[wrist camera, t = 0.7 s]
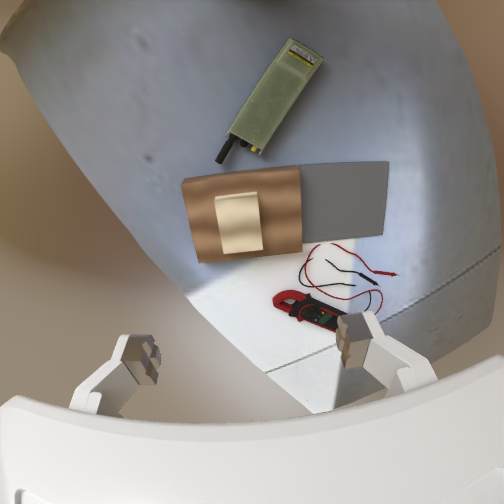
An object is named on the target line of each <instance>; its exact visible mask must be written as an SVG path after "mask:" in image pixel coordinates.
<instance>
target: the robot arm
mask: <svg viewBox="0 0 504 504" xmlns="http://www.w3.org/2000/svg"><path fill="white" fill-rule="evenodd" d="M337 323H338V326H339V327H338V328H337V329H336V343H337V347H338V350H339V351H341V352H342V355H341V359H342V362H343V366H344V369H350V368H355V367H360V366H363V367H364V368H365V369H366V370H367V371H368V372H369V373H371V374H372V375H373V376H374V377H375V378H376V379H377V380H379V381H380V382H381V383H382V384H383V385H384V386H385V387H387V388H388V391H387V393H386V395H385V397H384V399H380V400H376V401H373V402H369V403H365V404H361V405H357V406H352V407H348V408H343V409H338V410H333V411H328V412H323V413H317V414H312V415H305V416H298V417H291V418H284V419H274V420H264V421H251V422H235V423H171V422H156V421H144V420H134V419H125V418H123V416H122V415H120V413H119V411H120V409H121V408H122V407H123V406H124V404H125V403H126V402H127V401H128V400H129V398H130V397H131V396H132V395H133V393H134V392H135V391H136V390H137V389H138V388H139V385H156V382H157V378H158V372H157V371H156V370H157V369H158V368H159V367H160V364H161V353H160V350H159V348H158V346H156V345H155V344H154V341H155V340H154V338H153V336H152V335H121V336H120V337H119V339H118V342H117V344H116V347H115V350H114V352H113V355H112V358H111V360H110V361H107V362H106V363H105V364H103V365H102V366H101V367H100V368H99V369H98V370H97V371H95V372H94V373H93V374H92V375H91V376H90V377H88V378H87V379H86V380H85V381H84V382H83V383H82V384H80V385H79V386H78V387H77V388H76V390H75V392H74V395H73V398H72V401H71V403H70V406H69V409H68V408H64V407H60V406H56V405H52V404H48V403H44V402H41V401H37V400H34V399H31V398H28V397H24V396H21V395H17V396H14V397H13V398H11V399H10V400H8V401H7V402H6V403H5V404H3V405H2V406H1V407H0V504H504V356H501V355H493V356H491V357H489V358H487V359H485V360H483V361H481V362H479V363H477V364H475V365H473V366H471V367H468V368H466V369H464V370H462V371H459V372H457V373H455V374H452V375H450V376H448V377H445V378H443V379H440V380H438V379H437V377H436V375H435V373H434V371H433V369H432V367H431V365H430V363H429V361H428V359H426V358H425V357H423V356H421V355H420V354H418V353H416V352H415V351H413V350H411V349H410V348H408V347H407V346H405V345H403V344H402V343H400V342H398V341H397V340H395V339H394V338H392V337H390V336H389V335H387V336H385V334H384V332H383V330H382V328H381V326H380V324H379V322H378V320H377V318H376V317H375V315H374V313H373V311H372V310H368V311H363V312H358V313H352V314H347V315H341V316H339V317H338V320H337Z"/></svg>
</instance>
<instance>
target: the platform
mask: <svg viewBox="0 0 504 504" xmlns="http://www.w3.org/2000/svg"><path fill="white" fill-rule="evenodd" d="M181 188H182V193H183V197H184V202H185V207H186V211H187V216H188V220H189V224H190V229H191V233H192V237H193V241H194V246H195V250H196V254H197V258H198V262H199V263H207V262H216V261H225V260H234V259H244V258H253V257H262V256H271V255H279V254H288V253H297V252H302V212H301V186H300V170H299V169H298V167H297V166H296V165H294V166H282V167H271V168H261V169H252V170H243V171H235V172H227V173H220V174H213V175H206V176H199V177H193V178H186V179H184V181H183V182H182V184H181ZM249 192H257V197H258V206H259V216H260V225H261V235H262V245H263V250H256V251H247V252H238V253H229V254H224V253H223V247H222V242H221V237H220V231H219V226H218V220H217V215H216V209H215V203H214V201H215V197H216V196H224V195H232V194H240V193H249Z"/></svg>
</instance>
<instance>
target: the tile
mask: <svg viewBox="0 0 504 504" xmlns="http://www.w3.org/2000/svg"><path fill="white" fill-rule="evenodd" d="M214 203H215V209H216V215H217V220H218V226H219V231H220V237H221V242H222V247H223V253H224V254H229V253H238V252H247V251H256V250H263V245H262V235H261V225H260V216H259V206H258V197H257V192H249V193H240V194H232V195H224V196H216V197H215V201H214Z"/></svg>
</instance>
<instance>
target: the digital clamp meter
mask: <svg viewBox="0 0 504 504" xmlns="http://www.w3.org/2000/svg"><path fill="white" fill-rule="evenodd" d="M331 244H333V243H331ZM320 245H321V244H320ZM333 245H336V246H338V247H340V246H339V245H337V244H333ZM317 246H319V245H317ZM317 246H316V247H317ZM316 247H314V248H313V249H312V251H311V252H310V254H309V256H308V258H307V260H306V263H305V264H304V265H303V266H302V268H301V270H302V269H303V267H304V266H305V275H306V278H307V280H308V281H309V282H310V283H311V281H310V280H309V279H308V277H307V274H306V264H307V262H308V261H310V260H311V259H309V257H310V255H311V253H312V252H313V250H314V249H315V248H316ZM340 248H341V249H343V250H344V251H346V252H348V253H350V254H353V255H355V256H357V257H358V258H359V259H360V260H361V261H362V262H363V263H364V264H365V262H364V261H363V260H362V259H361V258H360V257H359V256H358V255H356V254H354V253H351V252H349V251H347V250H345V249H344V248H342V247H340ZM308 259H309V260H308ZM312 259H313V258H312ZM325 260H326V259H325ZM326 261H328V260H326ZM328 262H329V261H328ZM329 263H330V264H331V265H333V264H332V263H331V262H329ZM333 266H334V265H333ZM365 266H366V267H367V268H368V266H367V265H366V264H365ZM334 267H335V268H336V269H337V270H339V271H342V272H354V273H358V272H355V271H343V270H340V269H338V268H337V267H336V266H334ZM368 269H369V268H368ZM301 270H300V272H299V281H300V273H301ZM369 270H370V269H369ZM370 271H371V272H373V273H375V274H376V273H377V274H383V275H391V276H396V275H397V274H395V273H389V272H382V271H377V270H376V271H372V270H370ZM358 275H360V276H361V277H363V278H364V279H366V280H368V281H369V282H371V283H373V285H378V284H377V283H376V282H375V281H373V280H372V279H370V278H368V277H367V276H365V275H363V273H358ZM300 283H301V284H302V285H304V284H303V283H302V282H301V281H300ZM311 284H312V285H313V286H307V285H304V286H306V287H315V288H316V289H318V290H319V291H321V292H323V291H322V290H320V289H319V288H317V287H322V286H329V285H336V284H343V285H348V286H356V285H349V284H344V283H335V284H327V285H320V286H315V285H314V284H313V283H311ZM378 286H379V285H378ZM370 291H379V290H368V291H366V292H369V293H370ZM366 292H363V293H366ZM379 292H380V291H379ZM323 293H324V294H326V295H328V296H330V297H333V298H336V299H341V300H349V299H352V298H354V297H357V296H359V295H361V294H363V293H360V294H358V295H356V296H354V297H352V298H349V299H342V298H337V297H334V296H331V295H329V294H327V293H325V292H323ZM380 293H381V292H380ZM381 296H382V293H381ZM287 299H295V300H296V301H295V302H294V303H293V304H288V303H286V302H283V301H284V300H287ZM382 302H383V296H382ZM382 302H381V305H380V308H381V306H382ZM370 303H371V293H370ZM370 303H369V306H370ZM273 306H274V307H276V308H278V309H280V310H283V311H285V312H287V313H289V316H290V317H296V318H297V320H298V322H301V321H303V320H305V321H308V322H310V323H313V324H315V325H317V326H320V327H322V328H325V329H328V330H330V331H333V332H335V333H336V329H337V328H338V327H339V326H338V323H337V320H338V317H339V316H341V315H347V313H345V312H343V311H340V310H338V309H336V308H334V307H332V306H329V305H327V304H325V303H323V302H320V301H318V300H316V299H314V298H311V295H310V293H309V294H303V293H301V292H299V291H296V290H286V291H282V292H280V293H278V294H277V295H275V296H274V298H273ZM369 306H368V308H369ZM368 308H367V309H368ZM380 308H379V309H378V311H379V310H380ZM367 309H366V310H367ZM366 310H365V311H366ZM378 311H377V312H378ZM377 312H376V313H377ZM376 313H375V314H374V315H376Z"/></svg>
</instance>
